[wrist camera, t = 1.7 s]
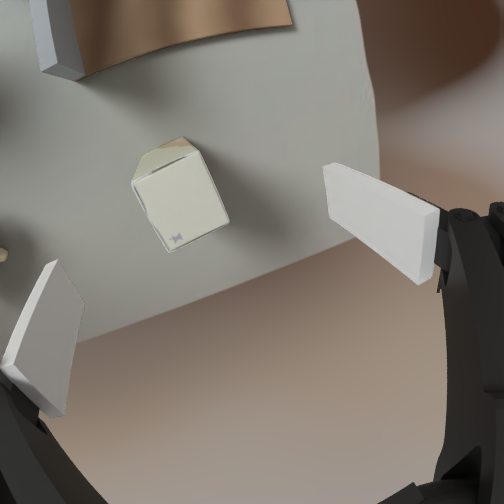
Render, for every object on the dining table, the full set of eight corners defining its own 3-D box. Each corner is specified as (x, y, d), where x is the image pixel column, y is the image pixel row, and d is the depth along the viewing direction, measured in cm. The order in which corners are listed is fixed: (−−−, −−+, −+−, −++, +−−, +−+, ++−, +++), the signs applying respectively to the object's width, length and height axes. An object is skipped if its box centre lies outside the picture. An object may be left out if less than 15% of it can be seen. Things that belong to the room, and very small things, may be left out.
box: (204, 183, 28) (234, 228, 18) (163, 203, 27) (169, 259, 18) (182, 132, 25) (200, 148, 15) (138, 153, 24) (128, 183, 15)
